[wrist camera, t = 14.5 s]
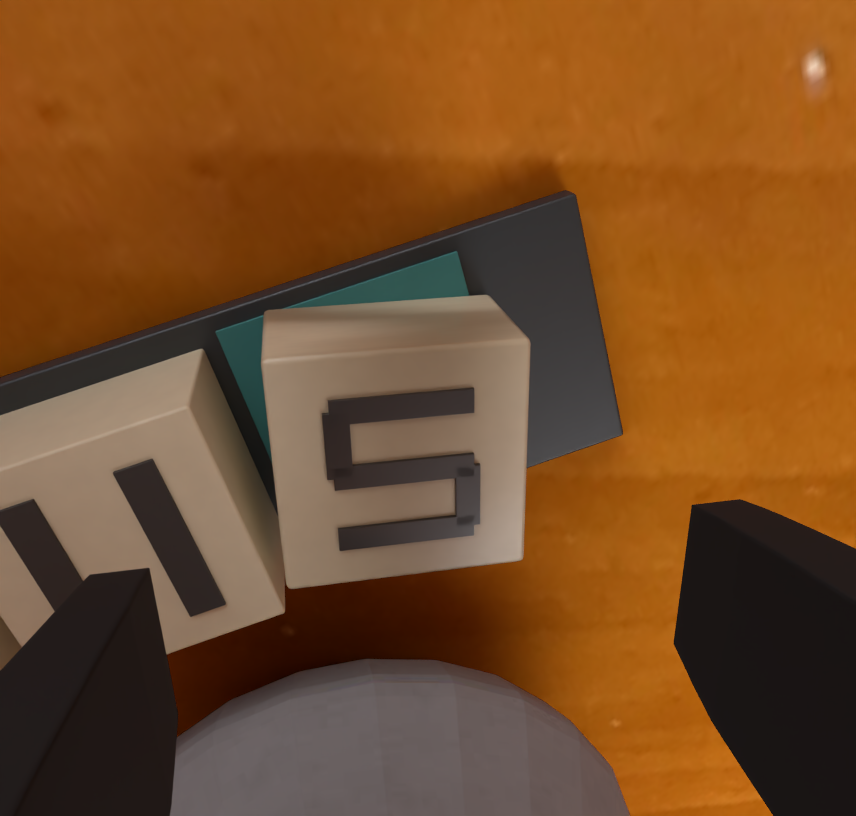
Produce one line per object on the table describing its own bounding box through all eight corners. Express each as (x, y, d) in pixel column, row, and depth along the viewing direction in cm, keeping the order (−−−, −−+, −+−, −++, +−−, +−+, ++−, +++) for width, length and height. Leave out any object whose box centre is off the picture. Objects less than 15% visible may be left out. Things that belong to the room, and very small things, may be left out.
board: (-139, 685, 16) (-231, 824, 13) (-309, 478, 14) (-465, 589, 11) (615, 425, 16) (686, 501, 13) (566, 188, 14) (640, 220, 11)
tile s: (284, 510, 15) (286, 594, 13) (262, 308, 13) (260, 361, 11) (487, 488, 16) (526, 564, 13) (489, 292, 14) (533, 339, 12)
